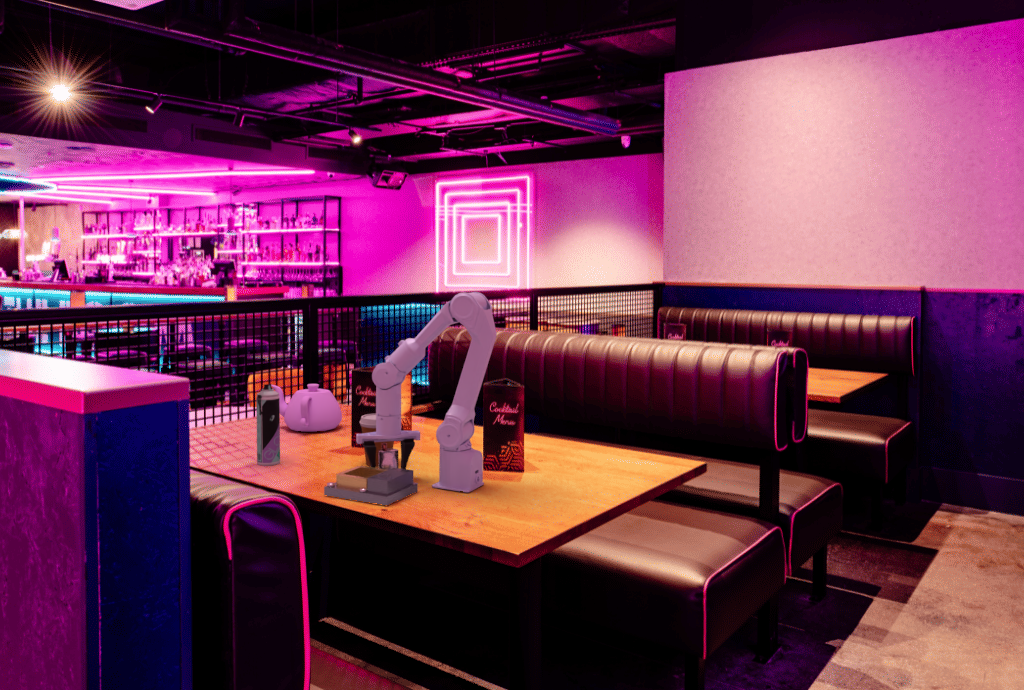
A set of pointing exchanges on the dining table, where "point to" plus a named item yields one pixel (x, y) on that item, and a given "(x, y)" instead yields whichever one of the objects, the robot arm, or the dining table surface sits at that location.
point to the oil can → (388, 457)
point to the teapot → (310, 409)
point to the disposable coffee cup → (370, 426)
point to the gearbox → (372, 485)
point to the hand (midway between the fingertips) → (388, 472)
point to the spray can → (268, 426)
